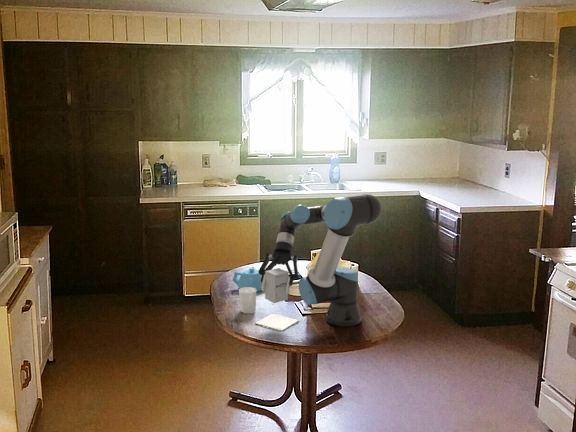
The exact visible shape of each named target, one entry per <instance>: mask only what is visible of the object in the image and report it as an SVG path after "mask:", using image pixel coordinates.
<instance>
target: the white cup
mask: <svg viewBox="0 0 576 432" xmlns="http://www.w3.org/2000/svg"><path fill="white" fill-rule="evenodd" d="M238 299H239V310H240V312H241V313H242V312H243V313H242V314H252V313H255V312H256V305H257V292H256V289H255V288H252V287H244V288H240V289H239V288H238Z"/></svg>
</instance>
